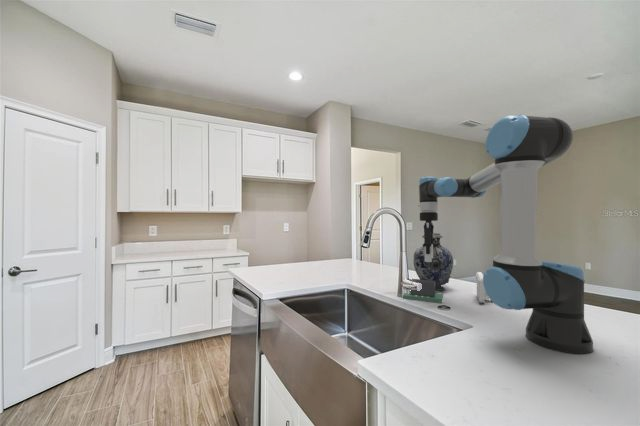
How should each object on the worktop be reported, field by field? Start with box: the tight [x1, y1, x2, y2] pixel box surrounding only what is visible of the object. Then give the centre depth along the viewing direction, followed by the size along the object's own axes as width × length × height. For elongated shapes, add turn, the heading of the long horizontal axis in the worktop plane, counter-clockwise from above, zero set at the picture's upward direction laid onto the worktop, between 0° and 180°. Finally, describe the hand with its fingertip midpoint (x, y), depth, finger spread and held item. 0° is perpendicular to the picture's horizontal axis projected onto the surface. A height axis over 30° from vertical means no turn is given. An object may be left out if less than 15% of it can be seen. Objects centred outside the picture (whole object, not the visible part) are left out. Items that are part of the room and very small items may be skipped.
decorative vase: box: [413, 232, 454, 292], centre depth 145 cm, size 21×19×28 cm
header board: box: [402, 291, 444, 304], centre depth 129 cm, size 10×16×5 cm, turn 65°
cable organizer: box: [475, 271, 490, 304], centre depth 124 cm, size 15×11×12 cm
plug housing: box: [410, 278, 436, 297], centre depth 129 cm, size 10×6×6 cm, turn 65°
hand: (429, 259), depth 127 cm, fingers open, 13 cm apart
